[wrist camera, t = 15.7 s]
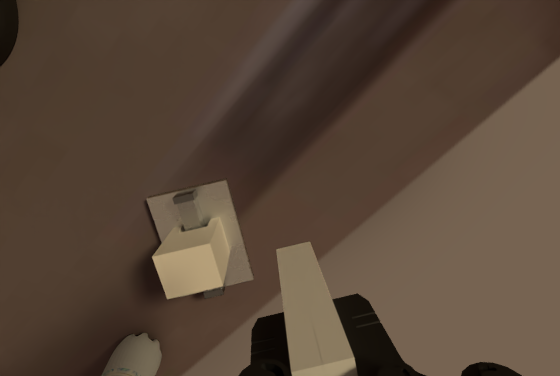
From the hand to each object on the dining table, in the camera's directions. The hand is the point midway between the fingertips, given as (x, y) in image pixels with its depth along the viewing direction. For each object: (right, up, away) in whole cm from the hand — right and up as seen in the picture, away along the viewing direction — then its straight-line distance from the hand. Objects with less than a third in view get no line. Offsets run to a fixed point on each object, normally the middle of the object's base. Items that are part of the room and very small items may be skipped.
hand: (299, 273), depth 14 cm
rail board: (-11, -3, +27) cm, 29 cm away
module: (-11, -3, +26) cm, 28 cm away
